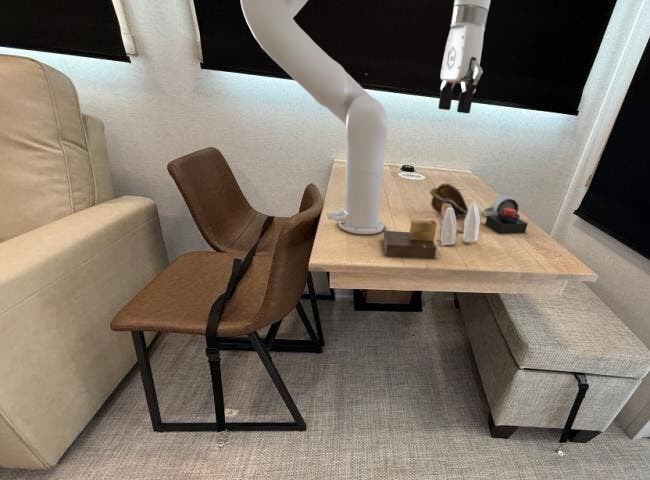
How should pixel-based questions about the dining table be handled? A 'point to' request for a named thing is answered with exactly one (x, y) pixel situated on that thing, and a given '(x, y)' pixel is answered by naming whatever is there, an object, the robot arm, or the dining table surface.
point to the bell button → (509, 212)
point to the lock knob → (422, 230)
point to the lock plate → (407, 246)
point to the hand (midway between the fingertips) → (453, 111)
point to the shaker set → (469, 226)
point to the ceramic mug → (502, 205)
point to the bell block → (506, 223)
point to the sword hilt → (448, 201)
